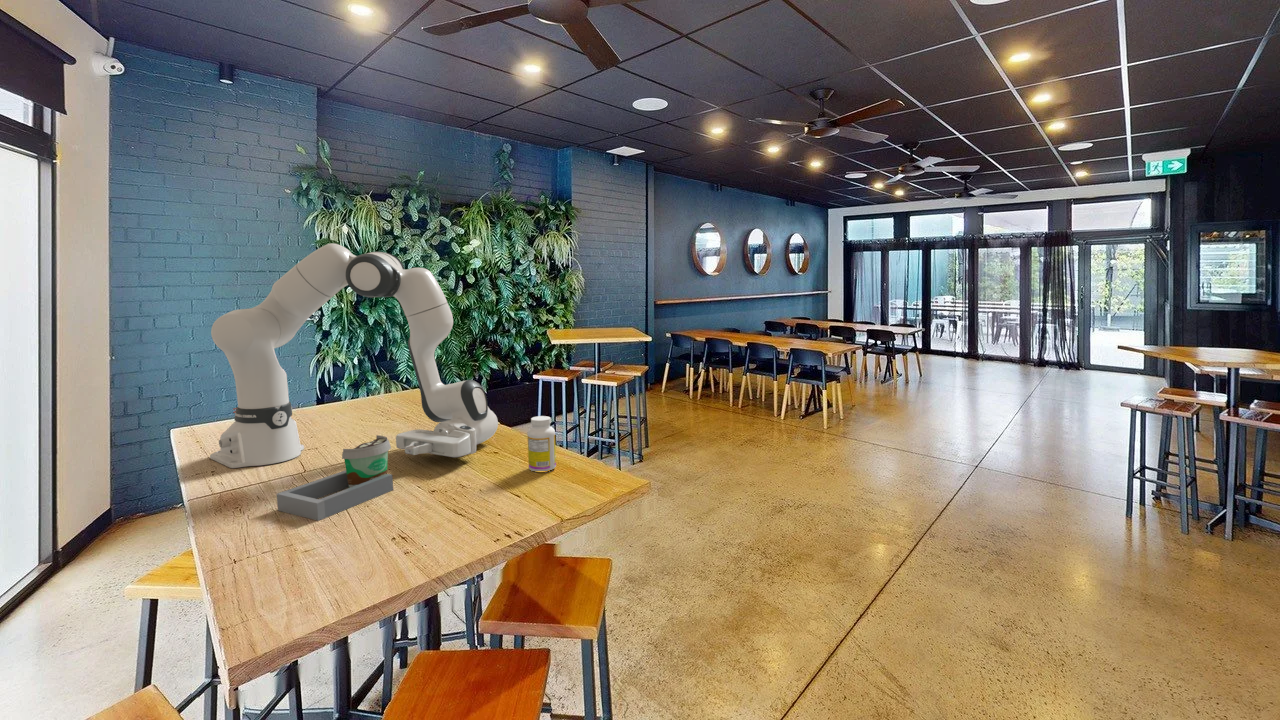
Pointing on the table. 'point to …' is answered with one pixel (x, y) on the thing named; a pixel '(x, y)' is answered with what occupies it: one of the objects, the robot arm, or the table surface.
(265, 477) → the table surface
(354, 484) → the food container
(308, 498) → the grey rectangular tray
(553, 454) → the supplement bottle
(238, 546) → the table surface
